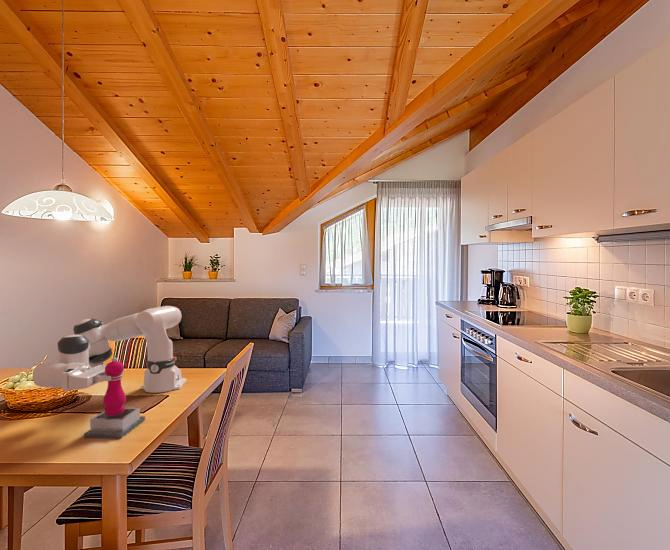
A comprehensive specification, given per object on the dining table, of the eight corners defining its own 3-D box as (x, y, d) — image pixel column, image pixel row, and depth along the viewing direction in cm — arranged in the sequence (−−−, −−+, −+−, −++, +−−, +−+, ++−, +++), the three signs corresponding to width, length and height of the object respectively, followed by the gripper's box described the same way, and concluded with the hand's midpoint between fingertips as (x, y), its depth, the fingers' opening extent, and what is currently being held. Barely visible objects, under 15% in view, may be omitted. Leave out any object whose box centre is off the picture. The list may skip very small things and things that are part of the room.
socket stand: (111, 419, 155) (111, 405, 155) (145, 420, 154) (144, 406, 154) (84, 437, 139) (83, 422, 139) (121, 438, 138) (120, 422, 138)
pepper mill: (116, 407, 151) (115, 354, 150) (130, 410, 148) (130, 356, 147) (98, 414, 144) (97, 358, 143) (113, 417, 141) (112, 360, 141)
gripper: (97, 375, 157) (132, 376, 156) (59, 392, 136) (99, 393, 136) (97, 359, 157) (132, 359, 156) (59, 374, 136) (99, 374, 136)
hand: (116, 375), depth 146 cm, fingers closed on pepper mill, 5 cm apart
